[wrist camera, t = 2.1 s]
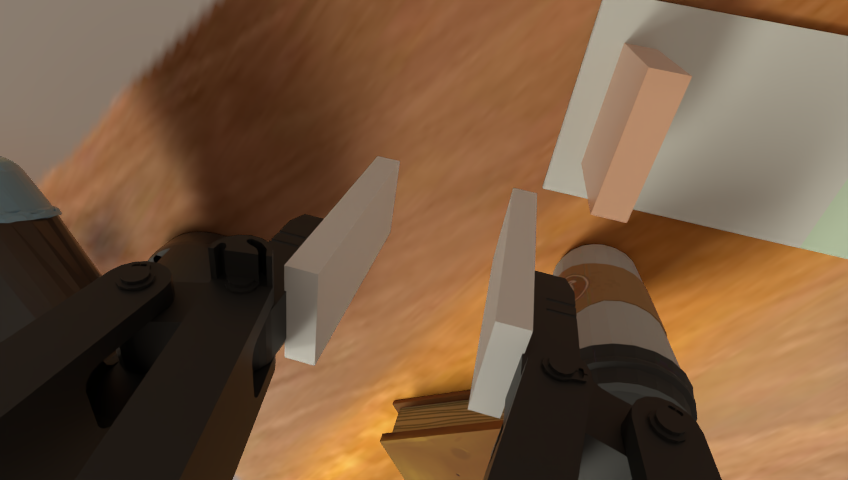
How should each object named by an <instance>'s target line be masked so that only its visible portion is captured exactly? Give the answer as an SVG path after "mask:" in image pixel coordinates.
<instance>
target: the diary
mask: <svg viewBox="0 0 848 480" xmlns="http://www.w3.org/2000/svg"><path fill="white" fill-rule="evenodd" d="M470 392H471V390H465V391H458V392H451V393H444V394H437V395H430V396H423V397H416V398H409V399H402V400H395V401H394V402H393V405H394V407H395V409H396V410H397V412H398V416H397V420H396V423H395V426H394V429H393V432H392V433H385V434H382V437H381V440H380V442H381V444H382V445H383V447H384V448H385V450H386V451H387V453H388V455H389V456H390V458H391V459H392V461H393V462H394V464H395V465H396V467H397V468H398V470H399V471H400V473H401V474H402V476H403V477H404V479H405V480H483V478H484V475H485V472H486V469H487V466H488V464H489V461H490V458H491V456H490V455H491V453H492V450H493V447H494V445H495V442H496V440H497V437H498V434H499V432H500V429H501V427H502V424H503V420H504V409H505V407H504V409H503V412H502V415H501V417H500V419H499V418H496V417H492V416H489V415H485V414H482V413H478V412H475V411H471V410H468V404H469V398H470Z"/></svg>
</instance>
